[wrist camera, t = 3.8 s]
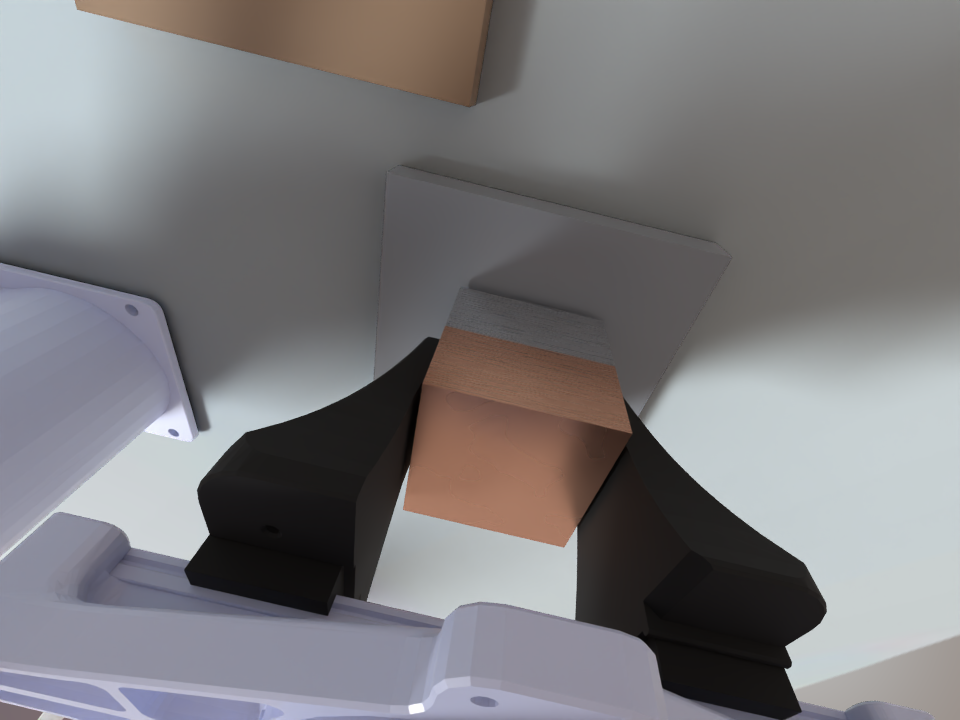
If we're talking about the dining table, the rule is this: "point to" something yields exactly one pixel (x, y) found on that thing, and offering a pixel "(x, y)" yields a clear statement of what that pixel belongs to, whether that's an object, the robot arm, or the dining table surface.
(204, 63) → the dining table surface
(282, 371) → the dining table surface
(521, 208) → the slate stand
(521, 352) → the orange-brown cube
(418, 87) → the walnut stand
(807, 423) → the dining table surface
